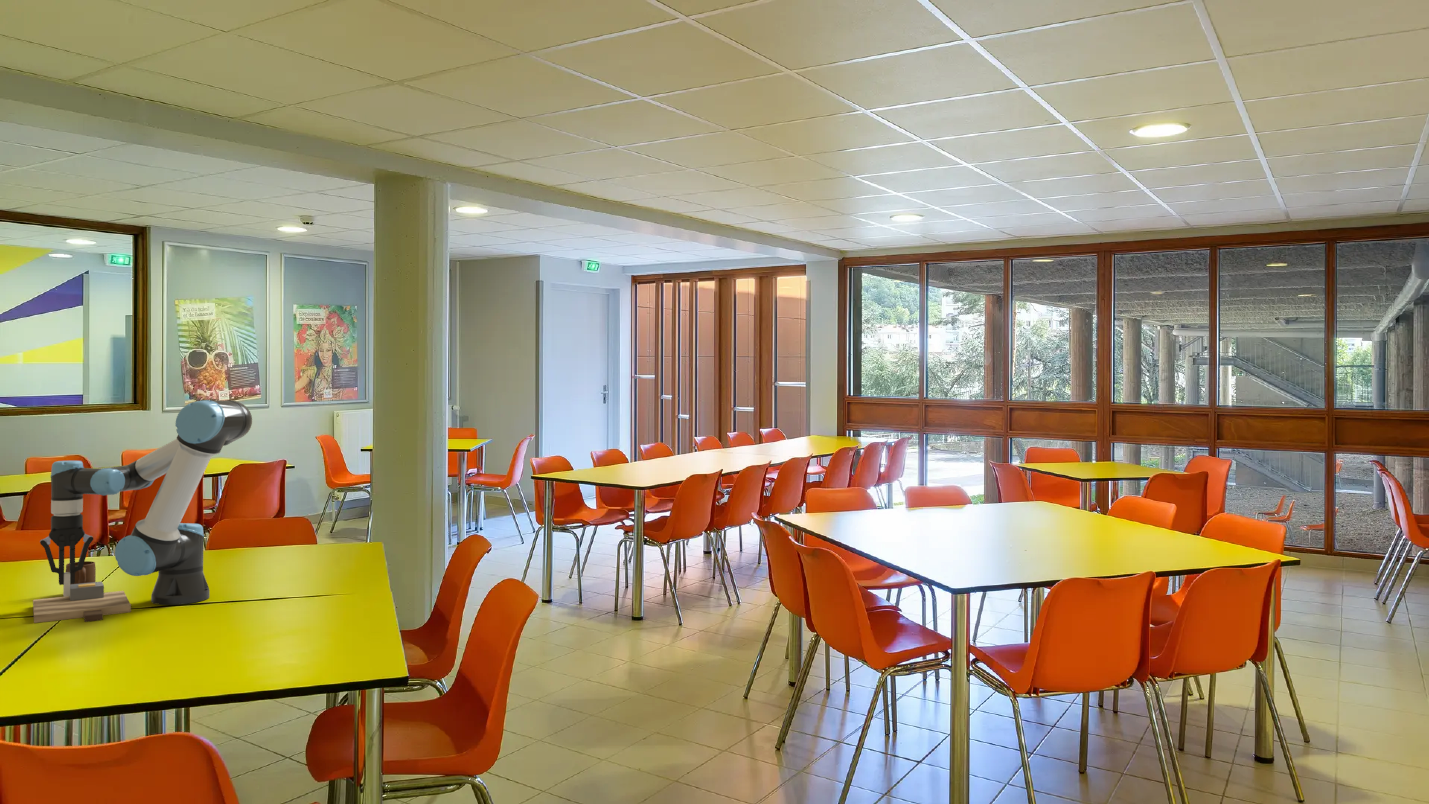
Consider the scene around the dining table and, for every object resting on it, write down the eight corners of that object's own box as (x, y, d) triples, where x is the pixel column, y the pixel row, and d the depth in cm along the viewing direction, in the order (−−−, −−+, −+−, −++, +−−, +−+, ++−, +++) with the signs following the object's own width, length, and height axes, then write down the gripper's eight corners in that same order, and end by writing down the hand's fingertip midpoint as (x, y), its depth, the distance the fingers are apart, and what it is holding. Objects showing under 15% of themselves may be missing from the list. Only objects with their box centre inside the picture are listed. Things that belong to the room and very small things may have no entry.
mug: (97, 597, 278) (98, 566, 277) (67, 600, 273) (67, 569, 273) (94, 590, 287) (94, 560, 287) (64, 593, 282) (64, 562, 282)
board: (33, 606, 265) (33, 599, 265) (123, 597, 278) (123, 590, 278) (34, 627, 242) (34, 620, 242) (132, 616, 256) (132, 609, 256)
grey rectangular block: (69, 596, 270) (69, 583, 269) (101, 593, 274) (101, 580, 274) (70, 601, 264) (70, 587, 264) (103, 597, 269) (103, 584, 269)
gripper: (93, 511, 273) (92, 590, 273) (38, 514, 265) (38, 595, 265) (95, 514, 267) (94, 595, 267) (39, 517, 259) (39, 600, 259)
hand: (66, 595), depth 266 cm, fingers closed
